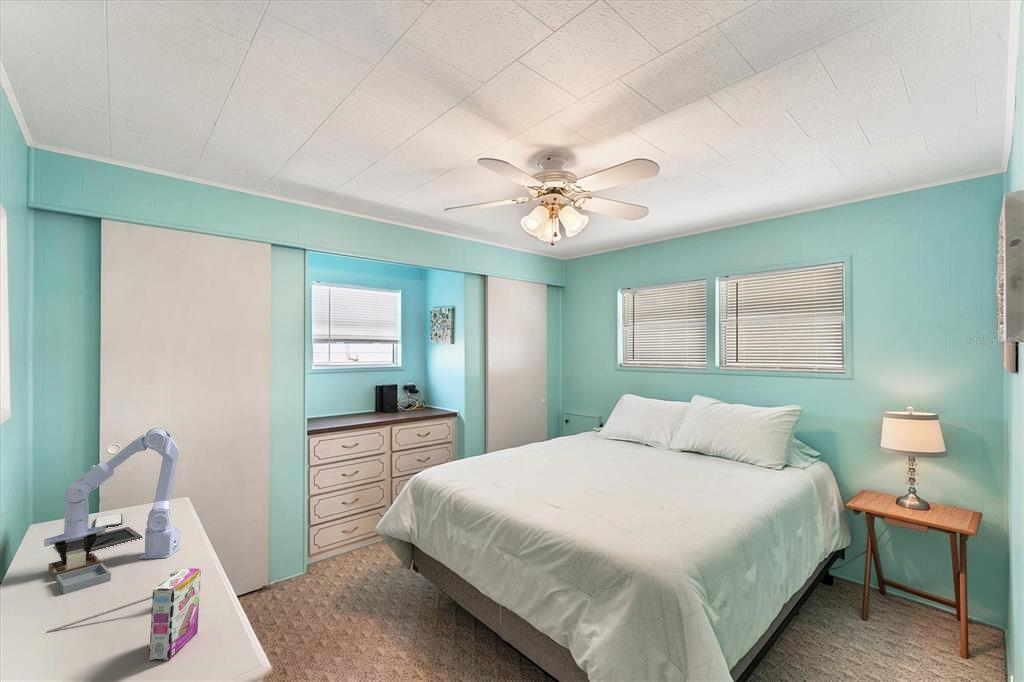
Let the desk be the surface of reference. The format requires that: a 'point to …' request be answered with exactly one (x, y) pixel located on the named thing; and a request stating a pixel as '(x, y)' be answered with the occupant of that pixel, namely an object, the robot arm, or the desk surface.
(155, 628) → the candy bar box
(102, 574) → the grey tray
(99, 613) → the brush
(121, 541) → the picture frame
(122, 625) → the desk surface
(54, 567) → the walnut tray
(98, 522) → the phone case
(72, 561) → the sandstone block
